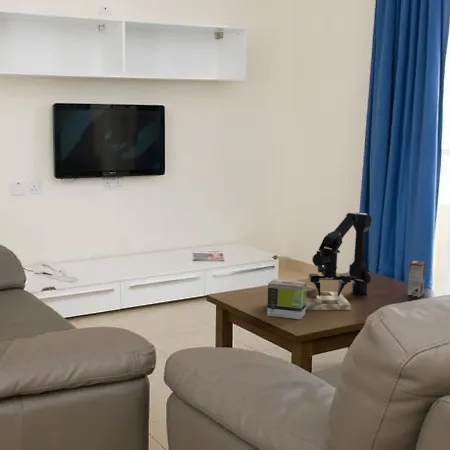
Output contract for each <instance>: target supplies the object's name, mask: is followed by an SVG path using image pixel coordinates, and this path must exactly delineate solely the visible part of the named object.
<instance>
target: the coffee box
mask: <svg viewBox="0 0 450 450" xmlns="http://www.w3.org/2000/svg"><path fill="white" fill-rule="evenodd" d="M426 263H427V262H426V261H423V260H417V259H416V260H415V259H413V260H411V262H409V270H408V285H407V296H408V295H413V296H412V297H415V296H417V298H421V297H420V296H423V294H424V292H425V289H424V288H425V276H426Z"/></svg>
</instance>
